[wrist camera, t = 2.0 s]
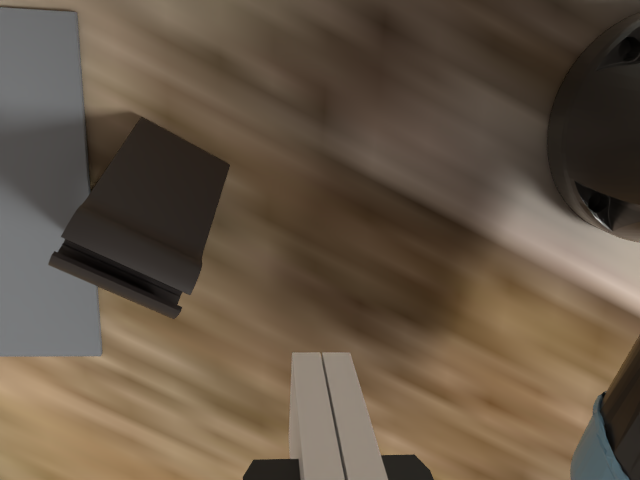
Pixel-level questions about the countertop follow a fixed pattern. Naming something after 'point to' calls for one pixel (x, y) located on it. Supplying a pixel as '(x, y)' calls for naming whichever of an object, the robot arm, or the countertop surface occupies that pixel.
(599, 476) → the robot arm
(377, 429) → the countertop surface
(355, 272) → the countertop surface
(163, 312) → the phone stand
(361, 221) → the countertop surface
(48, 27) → the mat
